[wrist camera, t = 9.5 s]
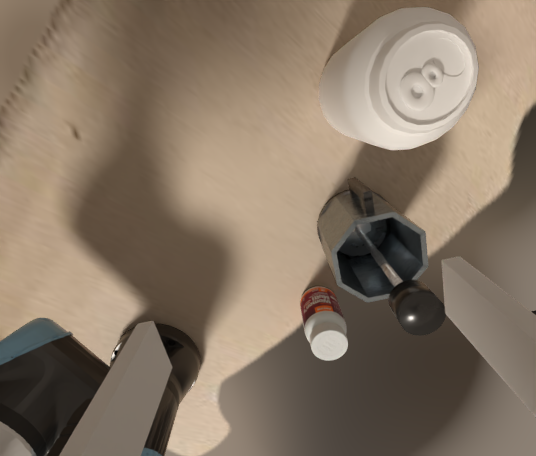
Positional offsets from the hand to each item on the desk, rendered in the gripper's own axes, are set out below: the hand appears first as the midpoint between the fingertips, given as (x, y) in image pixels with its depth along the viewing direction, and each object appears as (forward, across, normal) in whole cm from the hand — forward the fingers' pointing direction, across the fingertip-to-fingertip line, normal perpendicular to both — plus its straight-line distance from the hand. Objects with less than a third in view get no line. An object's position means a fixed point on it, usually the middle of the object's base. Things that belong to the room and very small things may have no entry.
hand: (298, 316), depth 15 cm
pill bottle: (+37, +2, -23) cm, 44 cm away
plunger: (+35, +10, -11) cm, 38 cm away
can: (+37, +14, +8) cm, 40 cm away
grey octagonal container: (+37, +10, -10) cm, 39 cm away
